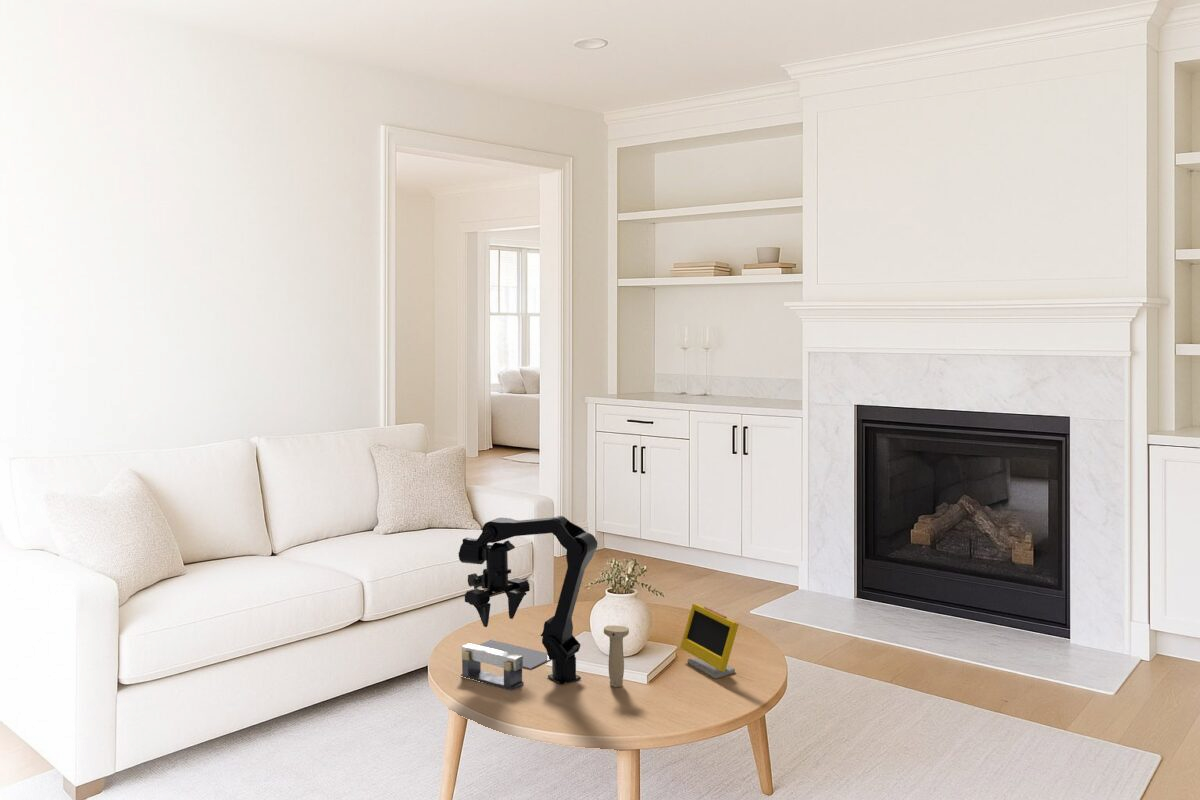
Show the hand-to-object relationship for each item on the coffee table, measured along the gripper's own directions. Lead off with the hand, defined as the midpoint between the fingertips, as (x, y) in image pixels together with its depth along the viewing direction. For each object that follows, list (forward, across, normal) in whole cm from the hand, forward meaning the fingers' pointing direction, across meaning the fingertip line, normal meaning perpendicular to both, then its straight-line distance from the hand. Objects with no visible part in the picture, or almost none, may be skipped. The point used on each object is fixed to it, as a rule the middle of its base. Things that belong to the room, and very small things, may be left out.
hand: (498, 622), depth 255 cm
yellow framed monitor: (+14, -39, +42) cm, 59 cm away
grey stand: (+13, +7, +5) cm, 16 cm away
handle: (+13, -12, +31) cm, 36 cm away
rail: (+8, +7, +5) cm, 12 cm away
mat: (+13, -9, -6) cm, 17 cm away
